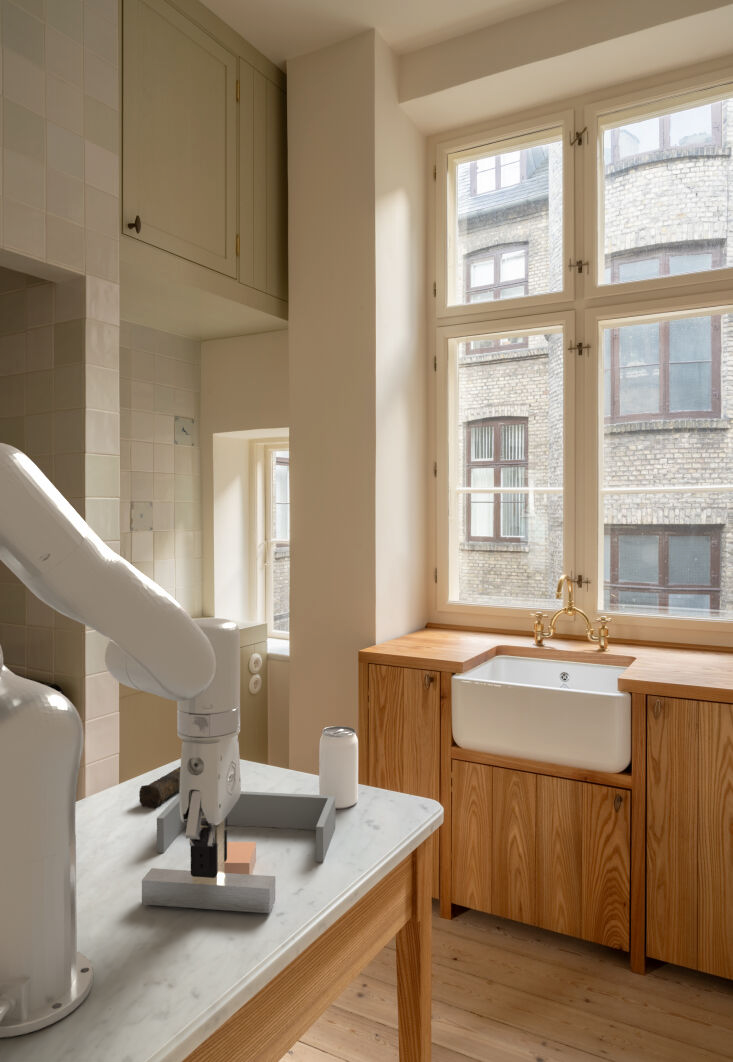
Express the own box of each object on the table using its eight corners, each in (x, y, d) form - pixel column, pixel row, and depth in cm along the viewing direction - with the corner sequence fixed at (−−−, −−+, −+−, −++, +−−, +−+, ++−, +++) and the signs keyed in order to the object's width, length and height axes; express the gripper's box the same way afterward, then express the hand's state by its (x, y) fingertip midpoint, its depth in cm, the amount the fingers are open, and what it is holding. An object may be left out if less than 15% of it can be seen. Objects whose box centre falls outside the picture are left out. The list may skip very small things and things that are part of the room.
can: (365, 801, 124) (366, 730, 123) (338, 813, 119) (338, 739, 119) (338, 791, 128) (338, 722, 128) (311, 802, 123) (311, 731, 123)
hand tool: (157, 811, 120) (158, 783, 120) (137, 807, 121) (138, 779, 121) (222, 773, 137) (223, 748, 137) (204, 770, 139) (204, 745, 139)
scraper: (269, 913, 89) (269, 831, 88) (141, 904, 91) (141, 823, 90) (275, 900, 92) (275, 820, 91) (151, 891, 94) (151, 813, 93)
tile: (249, 885, 97) (249, 862, 97) (203, 885, 97) (203, 862, 97) (255, 863, 103) (256, 842, 103) (212, 862, 103) (212, 841, 103)
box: (323, 862, 103) (323, 826, 102) (156, 852, 105) (156, 817, 105) (335, 828, 114) (335, 795, 113) (184, 819, 116) (184, 788, 116)
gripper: (217, 743, 82) (218, 906, 82) (256, 704, 98) (256, 840, 99) (152, 740, 83) (153, 902, 83) (201, 702, 99) (202, 837, 100)
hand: (209, 867), depth 91 cm, fingers closed on scraper, 3 cm apart
